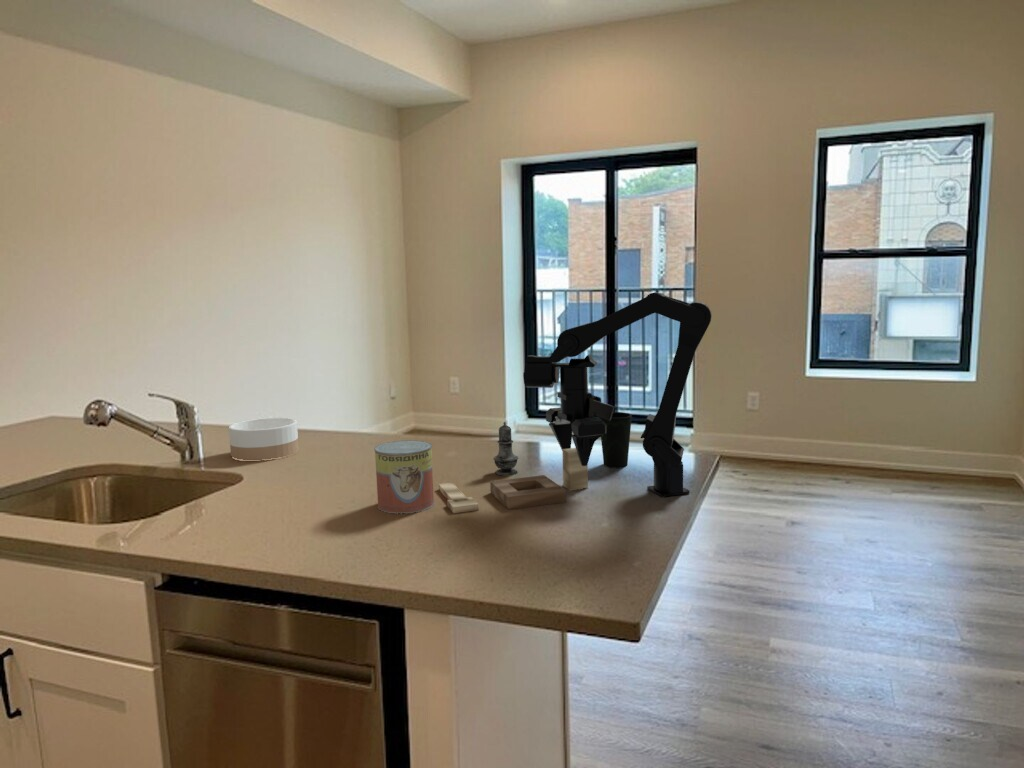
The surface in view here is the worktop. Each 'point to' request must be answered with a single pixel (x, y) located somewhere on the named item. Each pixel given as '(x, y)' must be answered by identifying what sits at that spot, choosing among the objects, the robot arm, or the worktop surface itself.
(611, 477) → the worktop surface
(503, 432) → the salt shaker
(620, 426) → the cup
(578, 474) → the wooden pin
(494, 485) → the socket block
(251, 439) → the bowl
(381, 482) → the canned food
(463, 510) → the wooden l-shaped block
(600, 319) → the robot arm
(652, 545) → the worktop surface
